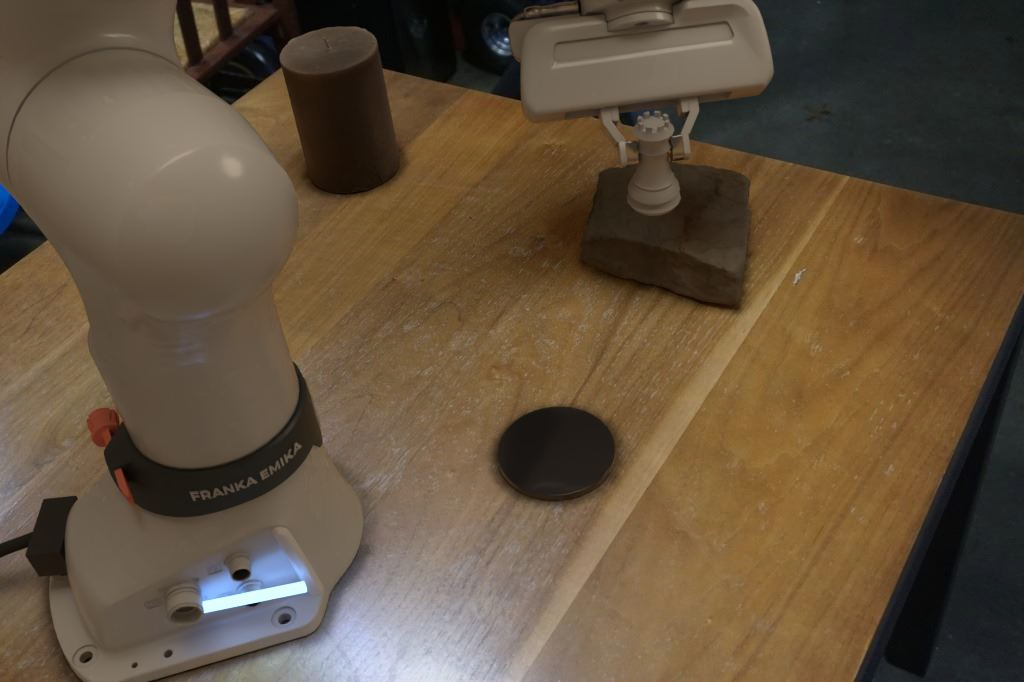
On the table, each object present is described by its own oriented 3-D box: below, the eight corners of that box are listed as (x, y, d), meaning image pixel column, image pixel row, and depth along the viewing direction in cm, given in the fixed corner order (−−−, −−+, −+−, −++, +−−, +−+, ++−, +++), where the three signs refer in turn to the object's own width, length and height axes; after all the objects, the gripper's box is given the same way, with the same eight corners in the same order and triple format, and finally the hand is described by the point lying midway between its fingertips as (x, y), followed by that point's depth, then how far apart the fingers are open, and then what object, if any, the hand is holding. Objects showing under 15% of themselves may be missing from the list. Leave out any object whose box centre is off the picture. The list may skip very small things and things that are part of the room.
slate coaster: (531, 519, 80) (531, 513, 79) (478, 439, 86) (477, 434, 85) (638, 469, 82) (638, 464, 82) (578, 395, 88) (578, 390, 88)
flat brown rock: (741, 310, 94) (743, 272, 91) (572, 296, 97) (569, 259, 95) (755, 195, 106) (758, 159, 103) (604, 187, 109) (602, 151, 106)
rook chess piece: (690, 194, 92) (691, 111, 86) (665, 223, 89) (666, 140, 84) (642, 181, 94) (641, 99, 88) (617, 209, 91) (614, 127, 86)
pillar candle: (370, 201, 111) (341, 68, 100) (290, 184, 114) (255, 53, 104) (417, 150, 117) (394, 19, 107) (340, 135, 120) (310, 7, 110)
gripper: (504, -4, 85) (527, 171, 85) (765, -37, 86) (789, 138, 85) (505, 22, 92) (526, 185, 91) (748, -9, 92) (770, 154, 91)
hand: (655, 162), depth 88 cm, fingers closed on rook chess piece, 3 cm apart
